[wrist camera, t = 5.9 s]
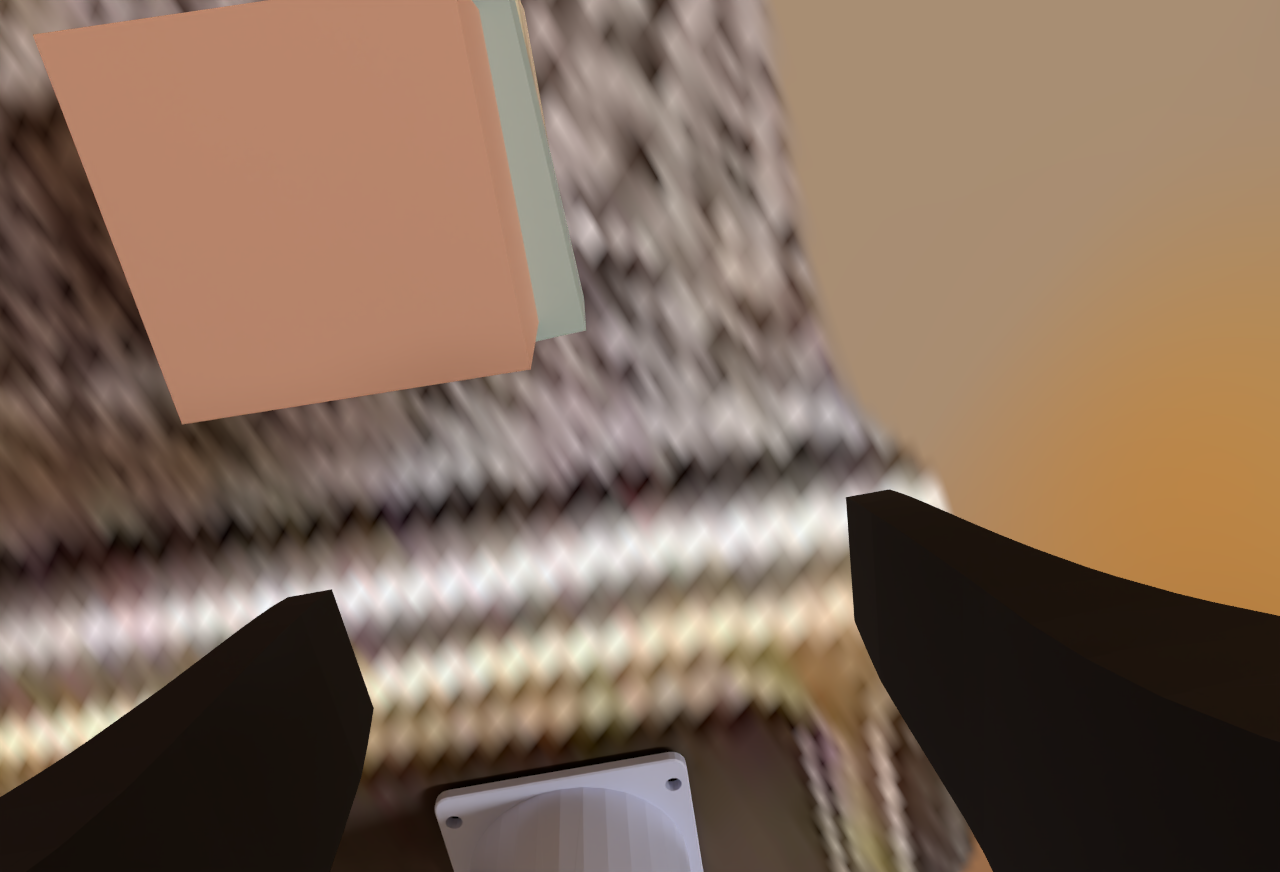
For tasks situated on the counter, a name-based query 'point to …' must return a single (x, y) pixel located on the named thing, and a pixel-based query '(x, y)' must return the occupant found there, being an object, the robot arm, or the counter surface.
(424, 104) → the terracotta block
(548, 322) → the middle block
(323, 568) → the counter surface
